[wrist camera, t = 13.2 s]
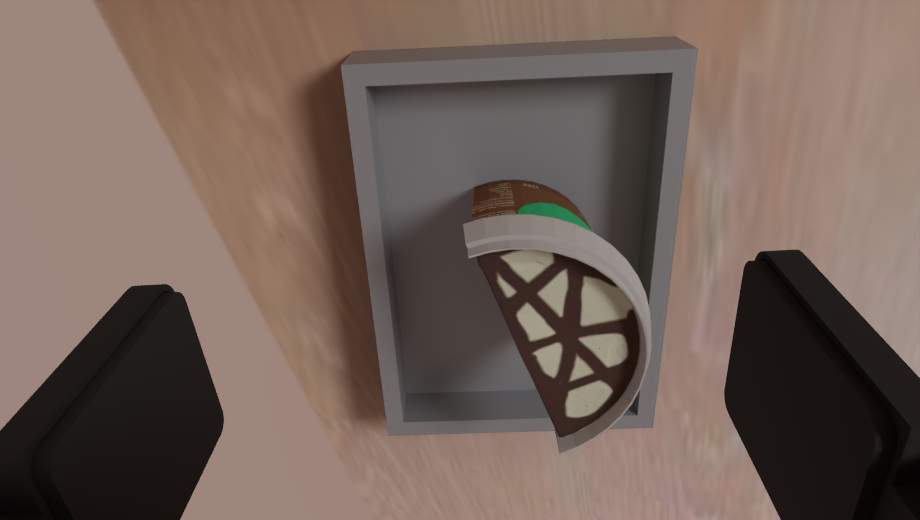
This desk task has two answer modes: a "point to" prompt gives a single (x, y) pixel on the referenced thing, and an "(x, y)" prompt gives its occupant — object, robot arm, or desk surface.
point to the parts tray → (505, 158)
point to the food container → (563, 304)
